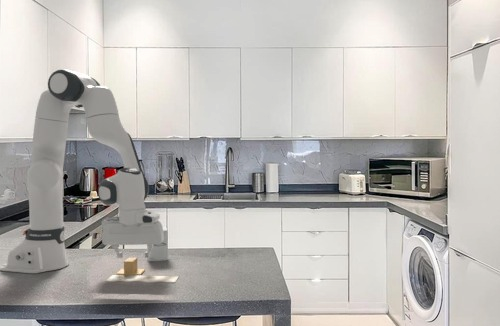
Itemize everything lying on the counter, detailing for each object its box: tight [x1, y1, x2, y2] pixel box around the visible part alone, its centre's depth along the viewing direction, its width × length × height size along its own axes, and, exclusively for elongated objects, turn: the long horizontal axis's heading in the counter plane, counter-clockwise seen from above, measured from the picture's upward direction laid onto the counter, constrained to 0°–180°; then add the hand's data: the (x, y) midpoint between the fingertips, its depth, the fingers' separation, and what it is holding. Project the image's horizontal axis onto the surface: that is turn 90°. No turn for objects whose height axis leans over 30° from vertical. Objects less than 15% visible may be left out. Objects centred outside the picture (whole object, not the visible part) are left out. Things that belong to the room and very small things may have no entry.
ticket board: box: [105, 274, 180, 284], centre depth 152 cm, size 24×13×2 cm, turn 87°
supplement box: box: [146, 226, 169, 262], centre depth 174 cm, size 7×7×13 cm
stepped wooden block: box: [115, 257, 146, 275], centre depth 155 cm, size 8×6×5 cm
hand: (133, 257), depth 156 cm, fingers open, 8 cm apart
